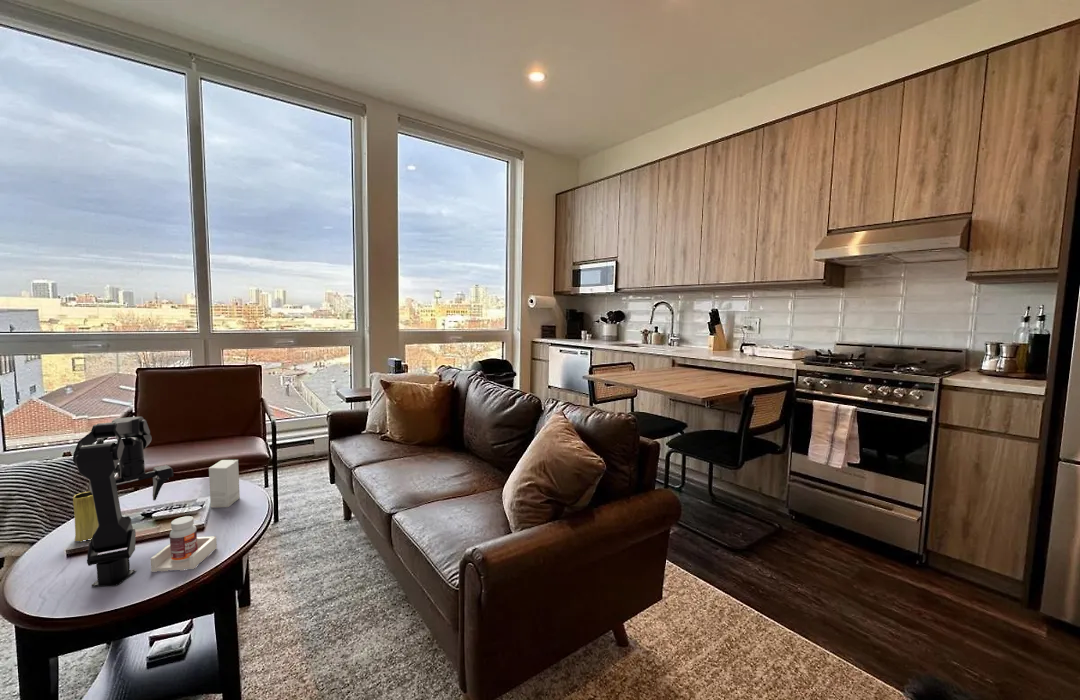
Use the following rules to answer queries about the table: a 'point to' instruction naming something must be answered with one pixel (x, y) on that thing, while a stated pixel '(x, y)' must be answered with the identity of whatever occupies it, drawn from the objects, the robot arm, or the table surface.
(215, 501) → the skincare box
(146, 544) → the table surface
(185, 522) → the pill bottle
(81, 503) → the vase
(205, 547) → the end holder
